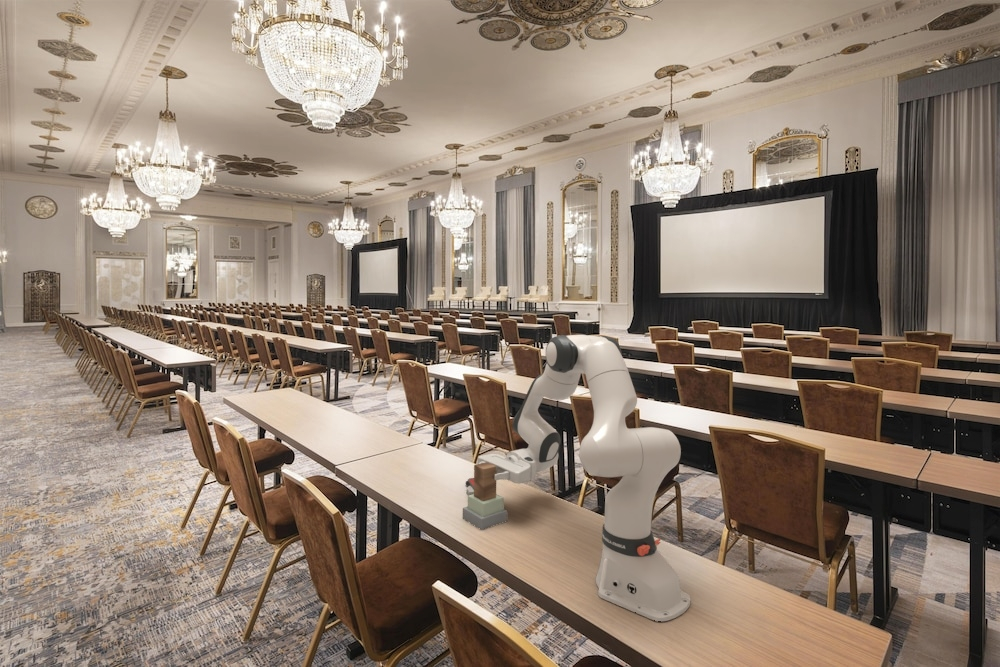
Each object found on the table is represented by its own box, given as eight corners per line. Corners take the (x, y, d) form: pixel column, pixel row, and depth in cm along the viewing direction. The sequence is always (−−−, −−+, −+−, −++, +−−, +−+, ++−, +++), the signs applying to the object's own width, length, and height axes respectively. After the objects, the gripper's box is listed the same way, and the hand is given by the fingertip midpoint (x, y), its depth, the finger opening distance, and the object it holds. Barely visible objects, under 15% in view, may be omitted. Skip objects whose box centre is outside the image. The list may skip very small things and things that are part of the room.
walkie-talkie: (460, 486, 191) (475, 507, 173) (460, 474, 191) (475, 494, 172) (483, 483, 194) (500, 504, 175) (483, 472, 194) (500, 492, 175)
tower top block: (503, 509, 162) (503, 497, 162) (483, 516, 157) (483, 504, 157) (487, 501, 168) (487, 489, 168) (467, 508, 163) (467, 495, 163)
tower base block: (507, 523, 162) (507, 510, 162) (481, 532, 156) (481, 519, 156) (487, 512, 170) (487, 500, 170) (462, 520, 164) (462, 507, 163)
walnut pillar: (496, 497, 162) (496, 466, 161) (483, 501, 159) (483, 469, 158) (486, 492, 166) (487, 462, 165) (473, 496, 163) (474, 464, 162)
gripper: (497, 446, 178) (464, 454, 169) (539, 462, 163) (505, 472, 154) (497, 464, 179) (464, 473, 170) (538, 482, 163) (505, 492, 154)
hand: (484, 472), depth 162 cm, fingers open, 8 cm apart
